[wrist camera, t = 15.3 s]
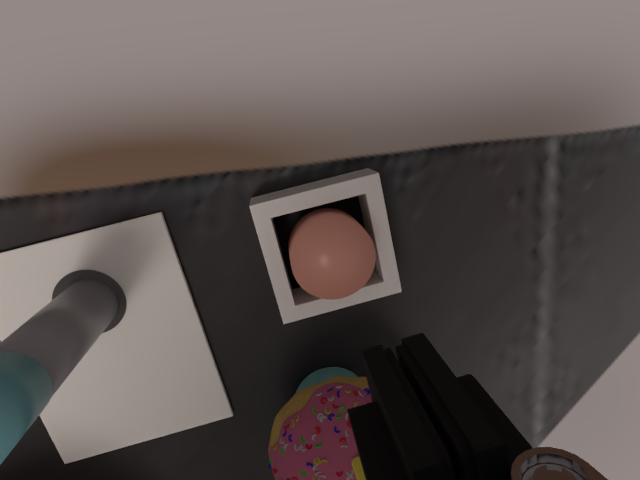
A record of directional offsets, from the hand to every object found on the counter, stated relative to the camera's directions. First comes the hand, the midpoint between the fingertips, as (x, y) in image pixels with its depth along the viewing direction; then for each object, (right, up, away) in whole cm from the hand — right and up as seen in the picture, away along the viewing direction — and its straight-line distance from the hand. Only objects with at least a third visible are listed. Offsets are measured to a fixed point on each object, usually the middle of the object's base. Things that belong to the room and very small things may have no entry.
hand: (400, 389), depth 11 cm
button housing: (-2, +4, +14) cm, 15 cm away
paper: (-15, -2, +14) cm, 21 cm away
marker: (-15, 0, +13) cm, 20 cm away
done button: (-2, +4, +13) cm, 14 cm away
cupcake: (-1, -7, +18) cm, 19 cm away
